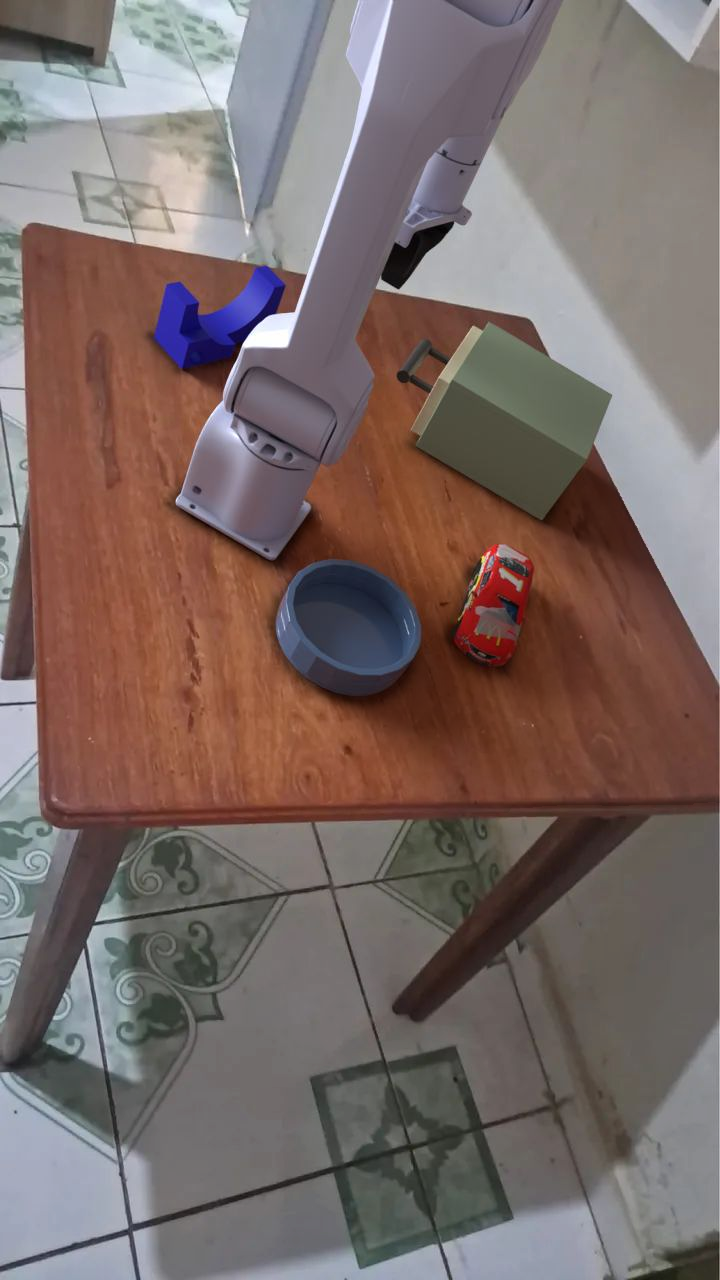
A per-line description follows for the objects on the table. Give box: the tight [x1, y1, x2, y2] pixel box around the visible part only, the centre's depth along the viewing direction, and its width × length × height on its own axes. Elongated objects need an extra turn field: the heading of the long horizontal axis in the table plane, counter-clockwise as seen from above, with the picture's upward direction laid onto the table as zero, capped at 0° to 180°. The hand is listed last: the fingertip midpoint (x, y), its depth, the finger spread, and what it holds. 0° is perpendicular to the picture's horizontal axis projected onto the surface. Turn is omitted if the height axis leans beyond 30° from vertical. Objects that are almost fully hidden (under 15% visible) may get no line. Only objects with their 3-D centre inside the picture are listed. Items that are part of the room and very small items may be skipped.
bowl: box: [275, 558, 422, 697], centre depth 76 cm, size 11×11×3 cm
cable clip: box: [153, 265, 287, 370], centre depth 91 cm, size 12×4×6 cm, turn 132°
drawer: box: [396, 325, 483, 437], centre depth 96 cm, size 17×11×7 cm, turn 67°
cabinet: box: [415, 321, 613, 521], centre depth 96 cm, size 15×13×9 cm
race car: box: [451, 543, 535, 667], centre depth 83 cm, size 13×5×4 cm, turn 160°
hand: (392, 281), depth 91 cm, fingers closed
